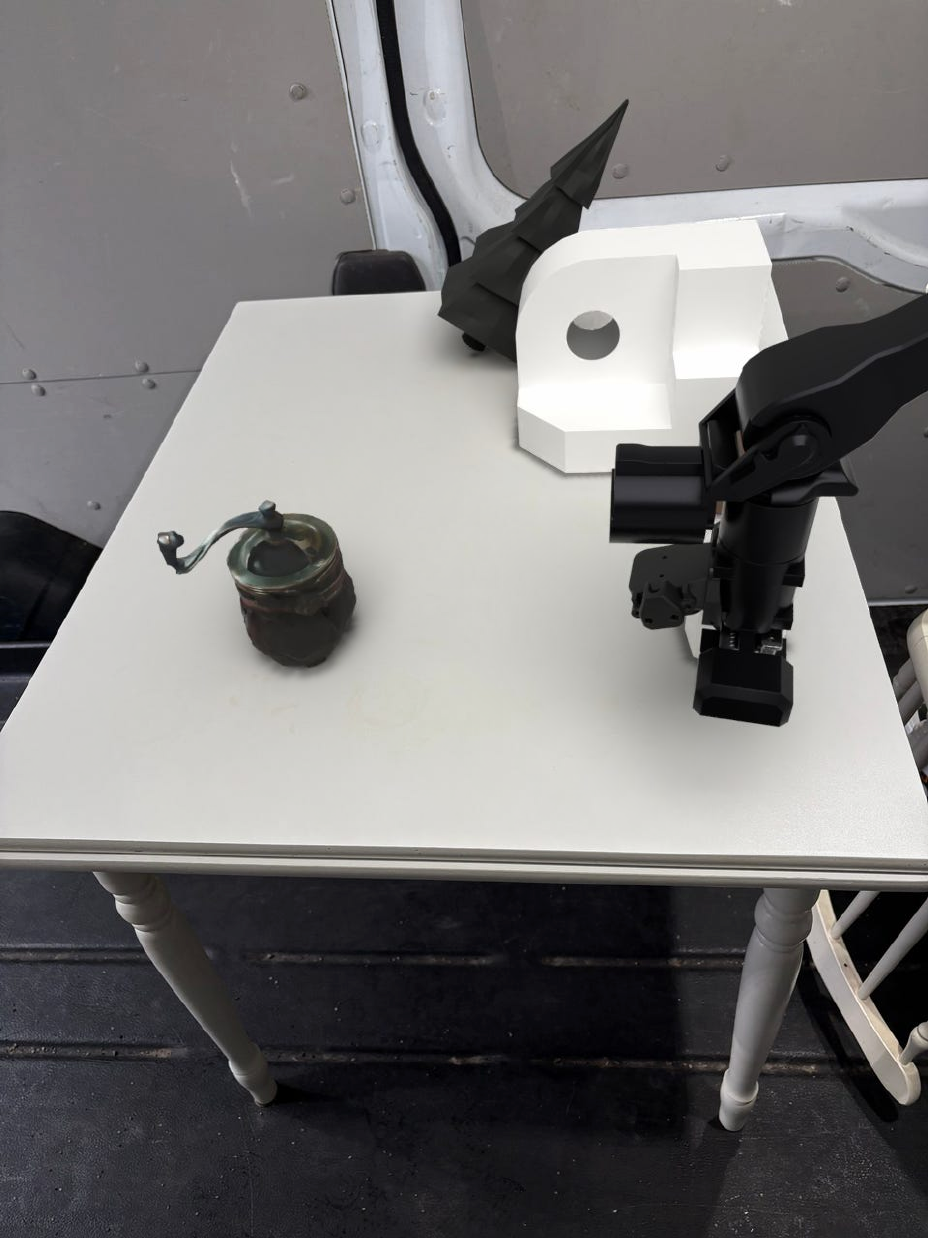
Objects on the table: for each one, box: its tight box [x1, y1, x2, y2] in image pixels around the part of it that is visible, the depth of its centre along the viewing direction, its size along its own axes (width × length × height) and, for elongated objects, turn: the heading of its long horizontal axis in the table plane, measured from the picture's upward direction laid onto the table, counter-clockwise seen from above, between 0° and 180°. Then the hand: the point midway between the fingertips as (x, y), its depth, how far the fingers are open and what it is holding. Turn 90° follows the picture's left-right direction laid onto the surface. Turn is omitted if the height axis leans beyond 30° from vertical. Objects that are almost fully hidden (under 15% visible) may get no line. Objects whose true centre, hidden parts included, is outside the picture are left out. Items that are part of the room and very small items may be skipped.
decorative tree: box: [436, 98, 630, 365], centre depth 106 cm, size 15×15×35 cm
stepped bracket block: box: [516, 219, 773, 474], centre depth 93 cm, size 26×17×20 cm, turn 84°
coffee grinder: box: [156, 499, 358, 668], centre depth 74 cm, size 13×15×18 cm
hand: (731, 686), depth 67 cm, fingers closed
